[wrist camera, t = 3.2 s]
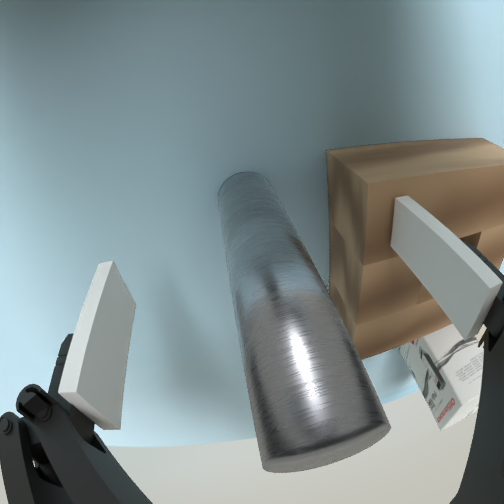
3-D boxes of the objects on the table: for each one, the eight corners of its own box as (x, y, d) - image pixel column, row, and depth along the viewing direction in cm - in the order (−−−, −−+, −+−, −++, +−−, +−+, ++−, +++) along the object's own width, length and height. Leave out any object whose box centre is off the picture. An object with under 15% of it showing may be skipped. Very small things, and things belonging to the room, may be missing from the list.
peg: (212, 178, 16) (253, 454, 5) (269, 166, 16) (406, 407, 5) (224, 227, 18) (270, 478, 7) (276, 215, 18) (376, 447, 7)
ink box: (402, 307, 26) (462, 407, 16) (441, 288, 26) (505, 376, 16) (397, 352, 31) (439, 434, 21) (431, 335, 31) (476, 411, 21)
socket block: (326, 150, 16) (367, 183, 12) (482, 138, 17) (528, 162, 13) (328, 316, 24) (349, 363, 20) (453, 275, 25) (482, 308, 21)
